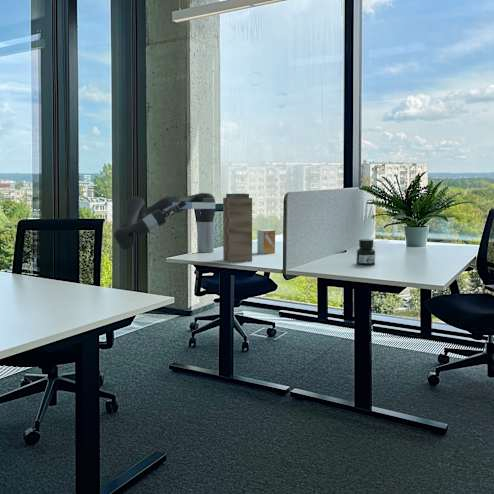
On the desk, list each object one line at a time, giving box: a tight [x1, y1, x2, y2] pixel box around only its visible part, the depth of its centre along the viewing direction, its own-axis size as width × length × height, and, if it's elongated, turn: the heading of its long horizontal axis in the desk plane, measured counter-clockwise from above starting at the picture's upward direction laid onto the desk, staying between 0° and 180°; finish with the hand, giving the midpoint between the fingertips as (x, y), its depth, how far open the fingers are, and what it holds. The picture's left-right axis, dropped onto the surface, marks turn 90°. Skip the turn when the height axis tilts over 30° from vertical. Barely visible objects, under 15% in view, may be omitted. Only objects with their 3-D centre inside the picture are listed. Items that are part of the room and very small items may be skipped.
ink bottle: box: [356, 238, 376, 266], centre depth 267 cm, size 10×9×12 cm
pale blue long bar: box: [172, 197, 216, 210], centre depth 266 cm, size 3×21×5 cm, turn 112°
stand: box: [222, 193, 253, 263], centre depth 276 cm, size 10×12×34 cm
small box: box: [256, 229, 276, 255], centre depth 304 cm, size 8×6×13 cm
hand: (184, 202), depth 264 cm, fingers closed on pale blue long bar, 3 cm apart
